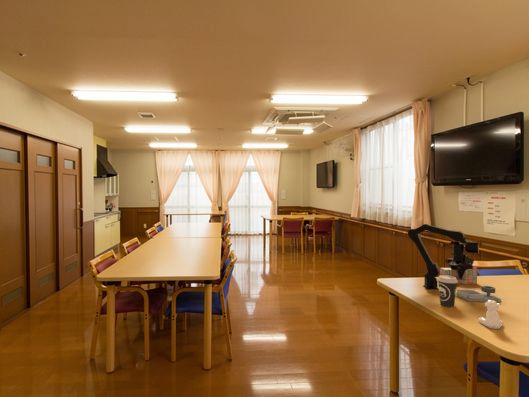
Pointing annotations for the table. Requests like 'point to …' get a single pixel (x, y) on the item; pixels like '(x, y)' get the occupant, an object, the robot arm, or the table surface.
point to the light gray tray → (476, 295)
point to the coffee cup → (447, 290)
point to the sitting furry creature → (491, 315)
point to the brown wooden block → (455, 274)
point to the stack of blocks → (470, 275)
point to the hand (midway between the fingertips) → (458, 277)
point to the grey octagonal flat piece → (488, 289)
